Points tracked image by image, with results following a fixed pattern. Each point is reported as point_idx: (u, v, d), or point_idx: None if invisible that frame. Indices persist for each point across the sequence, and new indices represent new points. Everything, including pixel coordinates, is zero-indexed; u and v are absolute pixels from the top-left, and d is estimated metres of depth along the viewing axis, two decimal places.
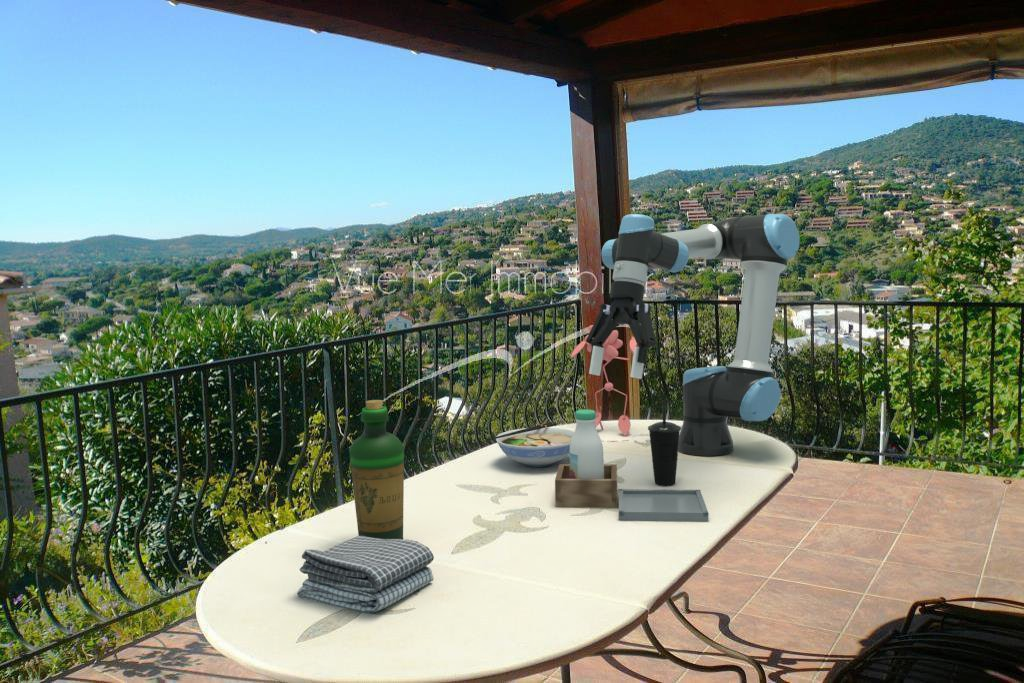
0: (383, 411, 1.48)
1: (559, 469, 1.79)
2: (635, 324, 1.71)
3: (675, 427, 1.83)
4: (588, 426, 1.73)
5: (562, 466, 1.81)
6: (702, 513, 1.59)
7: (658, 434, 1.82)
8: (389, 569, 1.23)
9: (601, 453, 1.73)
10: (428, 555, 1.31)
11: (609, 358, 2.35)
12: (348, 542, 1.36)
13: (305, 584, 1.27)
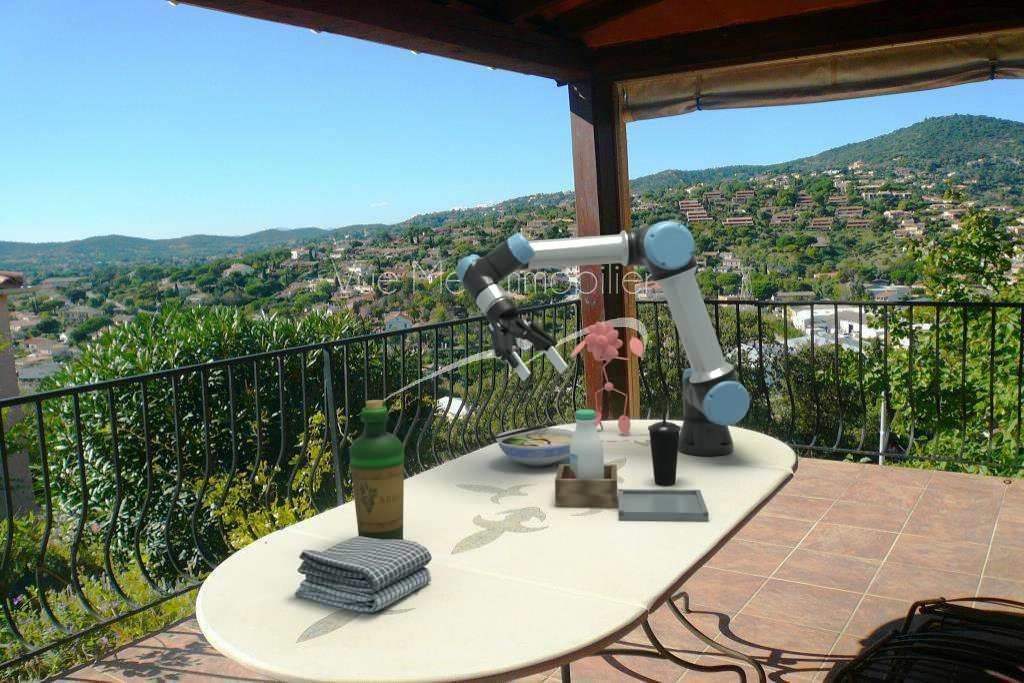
0: (383, 411, 1.48)
1: (559, 469, 1.79)
2: (504, 339, 1.84)
3: (675, 427, 1.83)
4: (588, 426, 1.73)
5: (562, 466, 1.81)
6: (702, 513, 1.59)
7: (658, 434, 1.82)
8: (386, 569, 1.23)
9: (601, 453, 1.73)
10: (426, 555, 1.31)
11: (609, 358, 2.35)
12: (346, 542, 1.36)
13: (303, 584, 1.27)
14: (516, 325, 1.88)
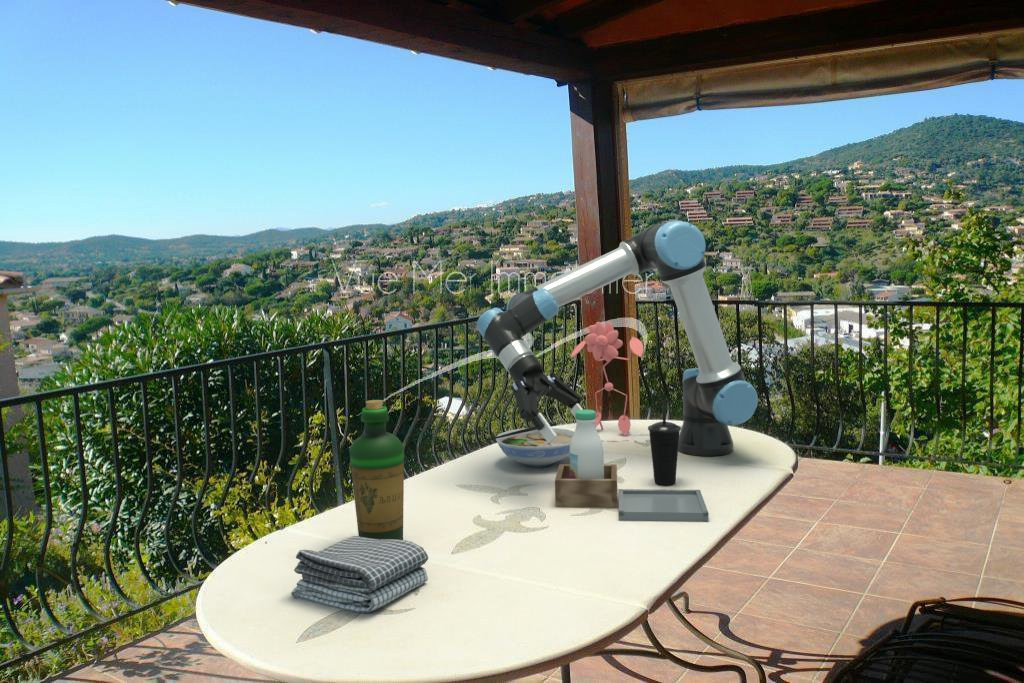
0: (383, 411, 1.48)
1: (559, 469, 1.79)
2: (528, 398, 1.79)
3: (675, 427, 1.83)
4: (588, 426, 1.73)
5: (562, 466, 1.81)
6: (702, 513, 1.59)
7: (658, 434, 1.82)
8: (383, 569, 1.23)
9: (601, 453, 1.73)
10: (422, 555, 1.31)
11: (609, 358, 2.35)
12: (342, 542, 1.36)
13: (299, 584, 1.27)
14: (540, 382, 1.82)
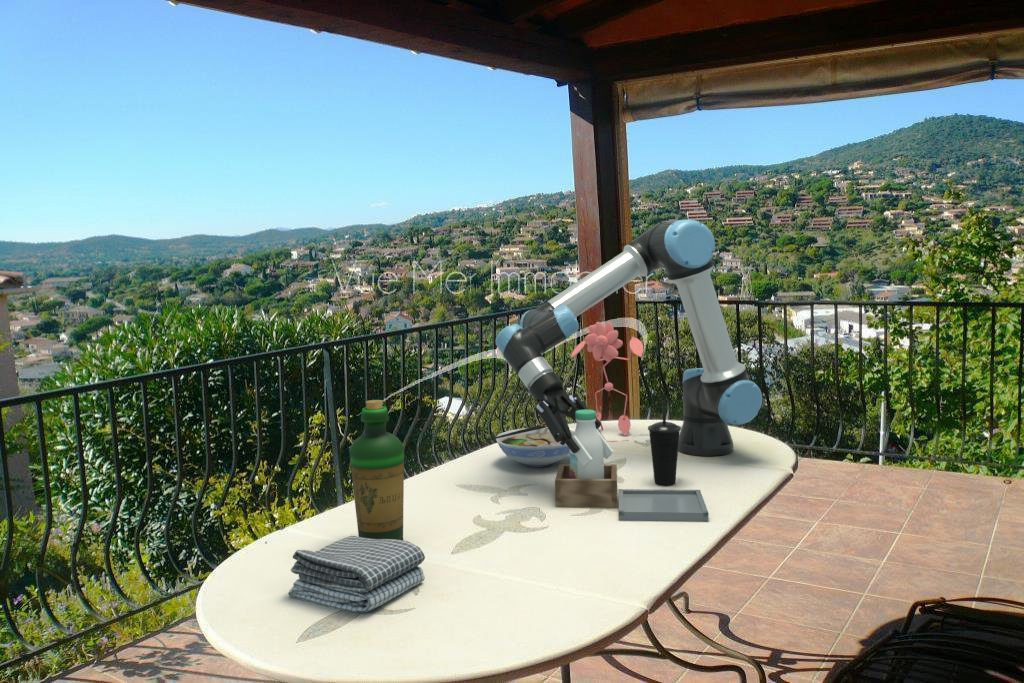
0: (383, 411, 1.48)
1: (559, 469, 1.79)
2: (556, 419, 1.76)
3: (675, 427, 1.83)
4: (588, 426, 1.73)
5: (562, 466, 1.81)
6: (702, 513, 1.59)
7: (658, 434, 1.82)
8: (380, 569, 1.23)
9: (601, 452, 1.73)
10: (419, 555, 1.31)
11: (609, 358, 2.35)
12: (339, 542, 1.36)
13: (296, 584, 1.27)
14: (561, 400, 1.79)
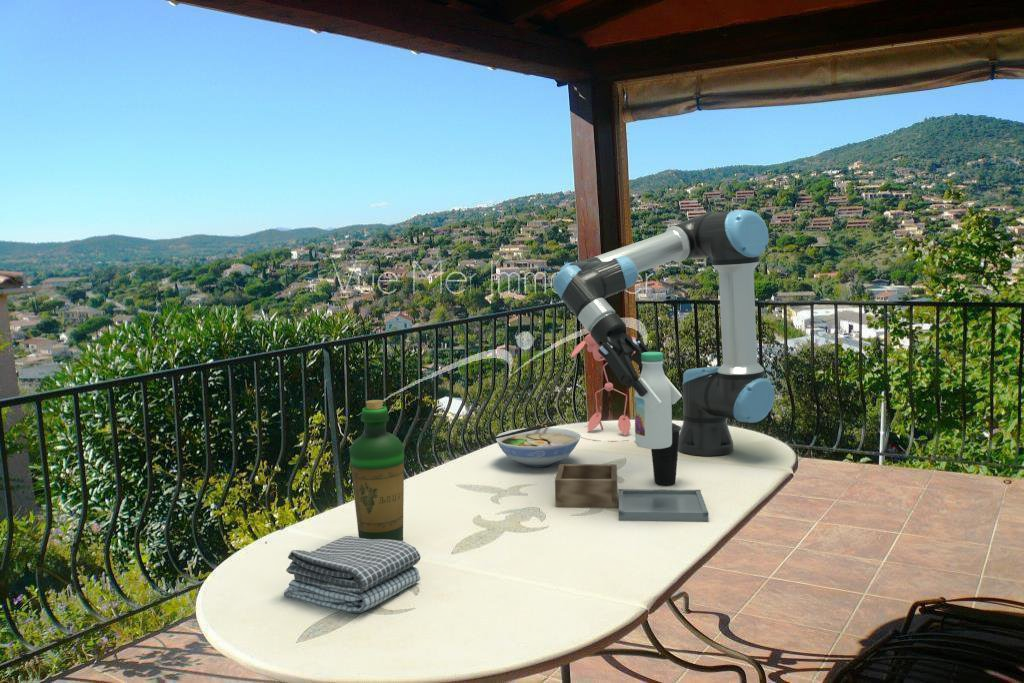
0: (383, 411, 1.48)
1: (559, 469, 1.79)
2: None
3: (675, 427, 1.83)
4: (656, 368, 1.63)
5: (562, 466, 1.81)
6: (702, 513, 1.59)
7: None
8: (375, 569, 1.23)
9: (669, 396, 1.63)
10: (415, 555, 1.31)
11: None
12: (335, 542, 1.37)
13: (291, 584, 1.28)
14: (625, 343, 1.69)
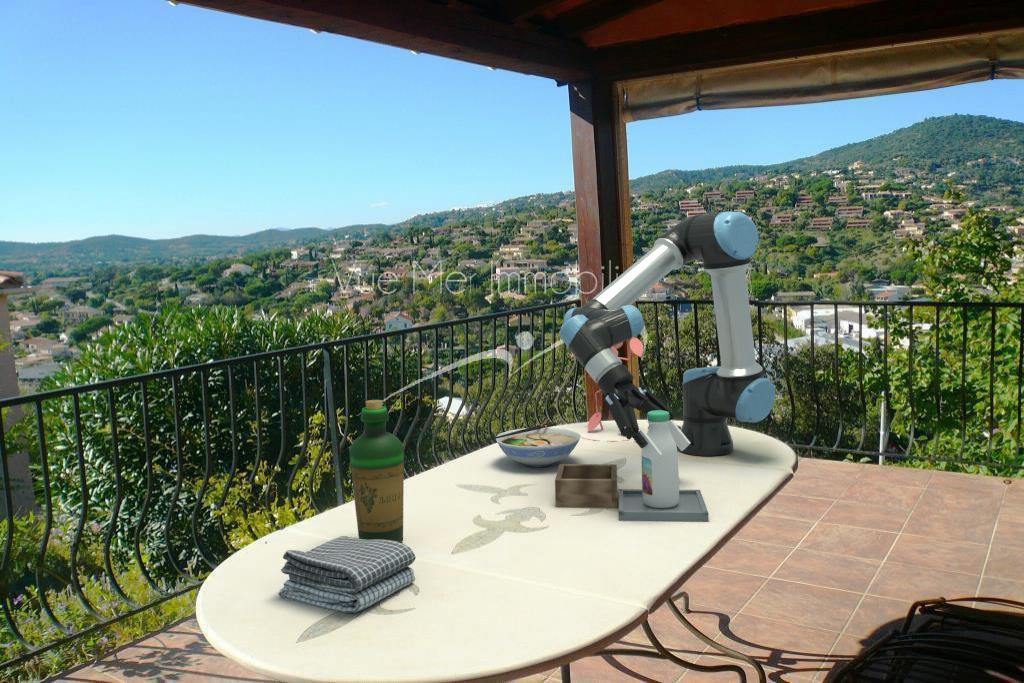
0: (383, 411, 1.48)
1: (559, 469, 1.79)
2: (624, 413, 1.66)
3: None
4: (662, 428, 1.64)
5: (562, 466, 1.81)
6: (702, 513, 1.59)
7: None
8: (369, 569, 1.23)
9: (676, 456, 1.64)
10: (410, 555, 1.31)
11: None
12: (330, 542, 1.37)
13: (286, 585, 1.28)
14: (632, 394, 1.70)
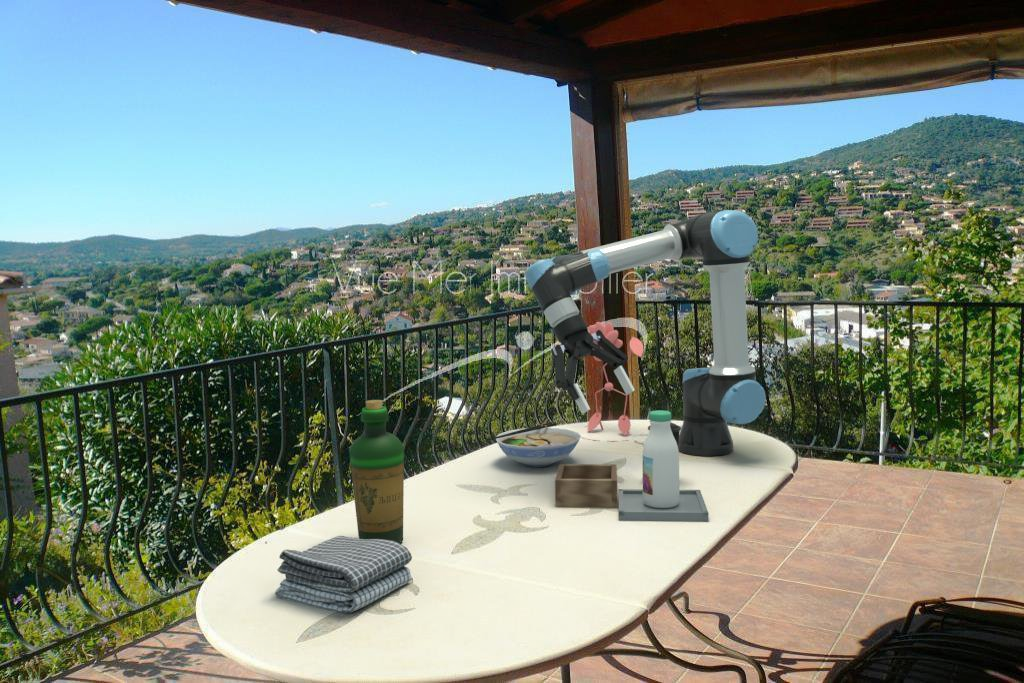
0: (383, 411, 1.48)
1: (559, 469, 1.79)
2: (568, 363, 1.78)
3: (675, 427, 1.83)
4: (664, 428, 1.64)
5: (562, 466, 1.81)
6: (702, 513, 1.59)
7: None
8: (365, 569, 1.23)
9: (677, 456, 1.64)
10: (406, 555, 1.31)
11: None
12: (327, 542, 1.37)
13: (283, 584, 1.28)
14: (583, 345, 1.80)
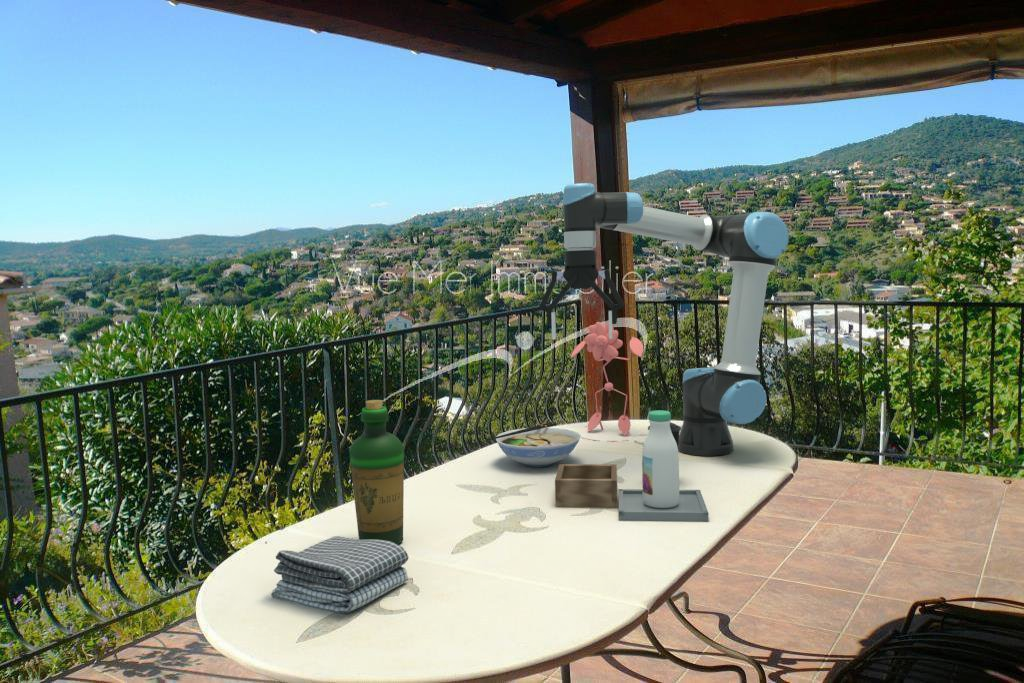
0: (383, 411, 1.48)
1: (559, 469, 1.79)
2: None
3: (675, 427, 1.83)
4: (663, 428, 1.64)
5: (562, 466, 1.81)
6: (702, 513, 1.59)
7: None
8: (362, 569, 1.23)
9: (676, 456, 1.64)
10: (402, 555, 1.31)
11: (609, 358, 2.35)
12: (323, 543, 1.37)
13: (279, 585, 1.28)
14: (581, 279, 1.85)
